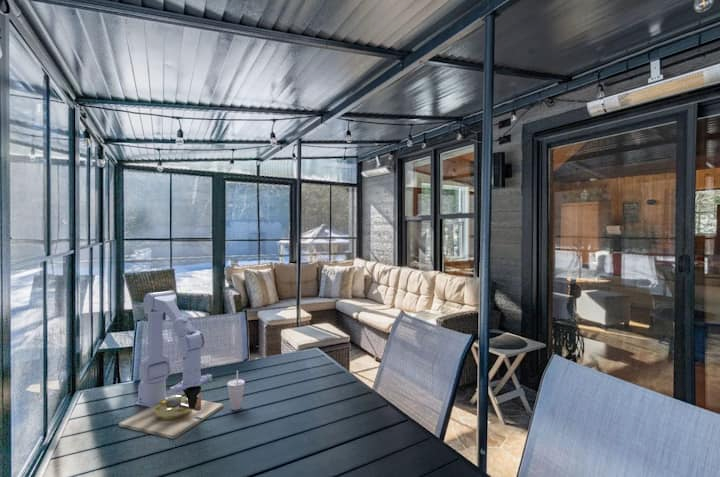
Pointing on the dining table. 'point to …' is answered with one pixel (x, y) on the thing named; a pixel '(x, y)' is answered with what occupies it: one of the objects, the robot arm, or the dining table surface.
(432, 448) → the dining table surface
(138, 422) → the base plate
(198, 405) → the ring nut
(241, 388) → the smoothie
